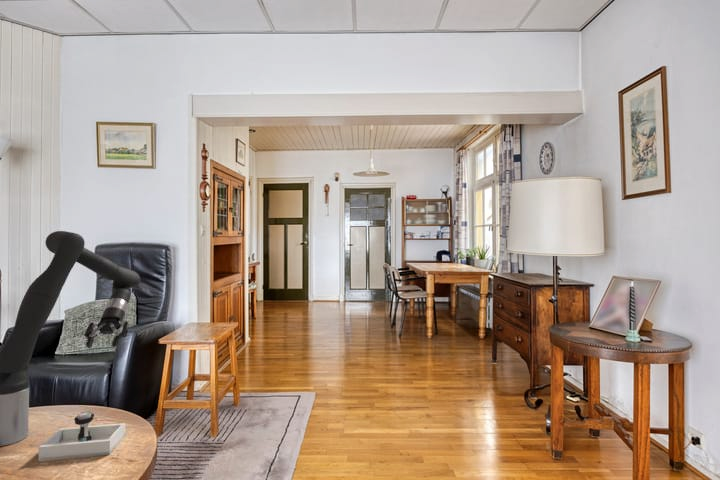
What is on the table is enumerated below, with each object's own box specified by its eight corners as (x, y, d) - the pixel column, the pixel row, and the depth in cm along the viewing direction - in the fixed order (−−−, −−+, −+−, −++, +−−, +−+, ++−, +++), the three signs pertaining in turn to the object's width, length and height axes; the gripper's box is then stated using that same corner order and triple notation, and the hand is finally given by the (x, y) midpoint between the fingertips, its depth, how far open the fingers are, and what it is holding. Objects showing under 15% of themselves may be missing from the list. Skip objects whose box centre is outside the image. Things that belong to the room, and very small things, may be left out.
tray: (38, 461, 115) (38, 447, 115) (61, 441, 127) (61, 428, 127) (109, 454, 119) (109, 440, 119) (125, 435, 131) (125, 423, 131)
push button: (98, 443, 124) (99, 413, 124) (80, 450, 120) (81, 419, 120) (88, 438, 127) (89, 409, 128) (70, 445, 123) (71, 415, 123)
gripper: (92, 306, 149) (76, 342, 138) (131, 305, 152) (118, 340, 141) (98, 317, 155) (83, 352, 143) (136, 316, 157) (124, 350, 146)
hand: (101, 346), depth 142 cm, fingers open, 8 cm apart
